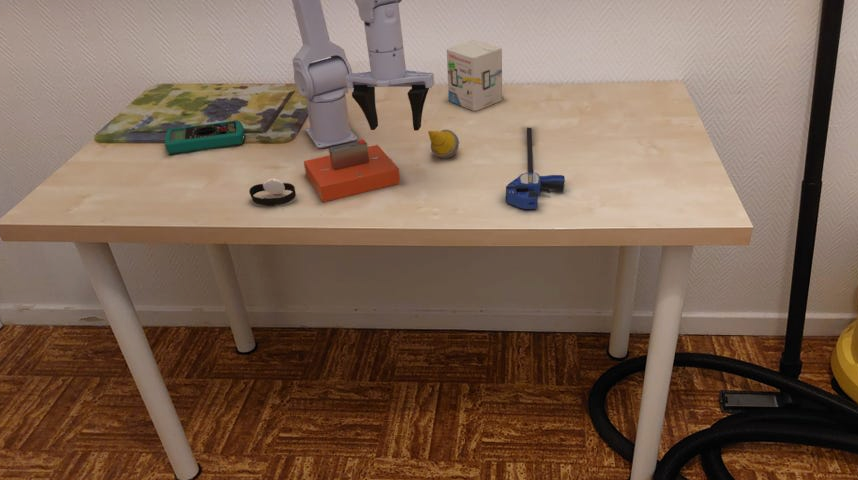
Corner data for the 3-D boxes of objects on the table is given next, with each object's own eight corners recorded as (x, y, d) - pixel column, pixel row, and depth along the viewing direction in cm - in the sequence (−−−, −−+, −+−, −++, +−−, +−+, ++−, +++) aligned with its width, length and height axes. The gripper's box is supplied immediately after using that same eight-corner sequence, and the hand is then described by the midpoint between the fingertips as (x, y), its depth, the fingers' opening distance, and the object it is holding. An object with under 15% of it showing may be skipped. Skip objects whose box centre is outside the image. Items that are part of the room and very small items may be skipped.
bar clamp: (567, 197, 119) (505, 197, 120) (567, 210, 121) (505, 210, 121) (558, 122, 146) (508, 122, 147) (558, 133, 148) (508, 134, 148)
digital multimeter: (245, 145, 146) (242, 131, 144) (167, 156, 143) (163, 142, 141) (245, 130, 152) (242, 117, 150) (169, 141, 149) (165, 127, 147)
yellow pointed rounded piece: (467, 157, 139) (444, 138, 130) (442, 167, 141) (418, 149, 132) (461, 132, 141) (438, 112, 132) (437, 143, 142) (412, 123, 134)
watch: (298, 193, 129) (295, 174, 127) (294, 206, 125) (290, 187, 123) (254, 194, 129) (250, 176, 127) (248, 208, 125) (244, 189, 123)
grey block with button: (333, 170, 129) (330, 150, 127) (331, 166, 130) (328, 146, 128) (369, 162, 131) (366, 142, 129) (366, 158, 132) (364, 138, 130)
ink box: (447, 101, 161) (445, 48, 154) (476, 90, 165) (474, 38, 159) (474, 112, 155) (473, 57, 149) (503, 100, 160) (503, 47, 153)
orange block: (323, 202, 126) (320, 185, 124) (306, 175, 134) (303, 160, 132) (400, 183, 130) (398, 167, 129) (379, 159, 139) (377, 143, 137)
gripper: (334, 55, 117) (347, 136, 124) (422, 54, 114) (431, 137, 121) (349, 43, 123) (361, 121, 130) (434, 41, 119) (441, 121, 127)
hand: (395, 128), depth 126 cm, fingers open, 7 cm apart
